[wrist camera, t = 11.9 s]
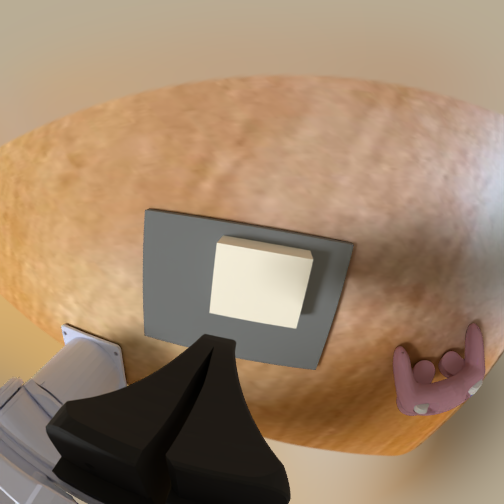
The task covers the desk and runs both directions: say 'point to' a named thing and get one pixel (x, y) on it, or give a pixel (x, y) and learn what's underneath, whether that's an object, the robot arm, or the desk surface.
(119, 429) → the robot arm
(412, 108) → the desk surface
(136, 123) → the desk surface
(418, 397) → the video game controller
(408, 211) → the desk surface
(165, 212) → the mat
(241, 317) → the block
